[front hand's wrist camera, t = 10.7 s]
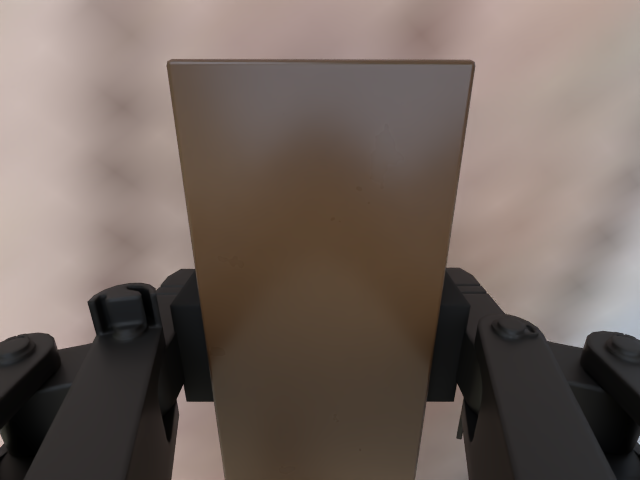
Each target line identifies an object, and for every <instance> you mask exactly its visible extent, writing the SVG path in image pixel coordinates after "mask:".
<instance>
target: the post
mask: <svg viewBox="0 0 640 480" xmlns="http://www.w3.org/2000/svg"><path fill="white" fill-rule="evenodd" d="M167 71H168V78H169V85H170V92H171V100H172V107H173V114H174V121H175V128H176V135H177V142H178V149H179V156H180V163H181V171H182V178H183V185H184V192H185V199H186V206H187V213H188V220H189V227H190V235H191V242H192V249H193V256H194V263H195V270H196V277H197V284H198V291H199V299H200V306H201V313H202V320H203V327H204V334H205V341H206V348H207V355H208V363H209V370H210V377H211V384H212V391H213V398H214V405H215V412H216V419H217V427H218V434H219V441H220V448H221V455H222V462H223V469H224V476H225V480H415V476H416V469H417V462H418V456H419V449H420V442H421V435H422V428H423V421H424V414H425V408H426V401H427V394H428V387H429V380H430V373H431V366H432V359H433V353H434V346H435V339H436V332H437V325H438V318H439V311H440V305H441V298H442V291H443V284H444V277H445V270H446V263H447V256H448V250H449V243H450V236H451V229H452V222H453V215H454V208H455V202H456V195H457V188H458V181H459V174H460V167H461V160H462V153H463V147H464V140H465V133H466V126H467V119H468V112H469V105H470V99H471V92H472V85H473V78H474V71H475V62H474V61H472V60H304V59H171V60H169V61H168V62H167Z"/></svg>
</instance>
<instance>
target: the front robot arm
mask: <svg viewBox="0 0 640 480" xmlns="http://www.w3.org/2000/svg"><path fill="white" fill-rule="evenodd" d="M88 306H89V309H90V313H91V317H92V320H93V324H94V328H95V331H96V337H95V339H94V341H93V343H90V344H86V345H81V346H76V347H70V348H65V349H60V350H58V349H57V346H56V343H55V340H54V338H53V337H52V336H50V335H49V334H45V333H31V334H22V335H18V336H14V337H10V338H8V339H6V340H5V341H2V342H0V435H1V437H2V439H3V441H4V444H3V445H2V446H1V447H0V480H171V477H172V469H173V461H174V453H175V444H176V436H177V428H178V420H179V411H178V405H177V400H176V399H177V397H178V395H179V393H180V391H181V388H182V386H183V384H184V389H185V395H186V400H187V402H214V398H213V391H212V384H211V377H210V370H209V363H208V355H207V348H206V341H205V334H204V327H203V320H202V313H201V306H200V299H199V291H198V284H197V277H196V270H195V269H180V270H179V271H177V272H175V273H173V274H172V275H170V276H168V277H167V278H166V280H165V281H164V282H163V283H162V284H161V287H159V288H158V289H157V290H156V289H155V288H154V287H153V286H151V285H149V284H144V283H128V284H122V285H117V286H114V287H111V288H108V289H105V290H103V291H101V292H99V293H98V294H96V295H94V296H93V297H92V298H91V299H90V300H89V301H88ZM457 384H458V386H459V388H460V390H461V392H462V394H463V396H464V400H463V405H462V410H461V415H460V421H459V426H458V431H457V439H462V434H463V435H464V443H465V452H466V460H467V468H468V476H469V480H640V445H639V444H638V443H637V440H638V438H639V436H640V340H638V339H636V338H635V337H633V336H630V335H626V334H625V335H624V334H623V333H618V332H607V331H599V332H593V333H591V334H590V335H588V336H587V338H586V342H585V345H584V348H579V347H573V346H568V345H563V344H558V343H553V342H549V341H546V339H545V337H544V335H543V333H542V332H541V331H540V330H539V329H538V328H537V327H536V326H534V325H533V324H531V323H530V322H528V321H526V320H524V319H521V318H519V317H516V316H512V315H507V314H505V313H504V312H503V311H502V310H501V309H500V307H499V306H498V305H497V304H496V303H495V301H494V300H493V299H492V298H491V297H490V296H489V294H487V293H486V291H485V290H484V288H483V287H482V286H480V284H479V282H478V281H477V280H476V279H475V278H474V276H473V275H471V274H469V273H468V272H466V271H464V270H462V269H461V268H446V270H445V277H444V284H443V291H442V298H441V305H440V311H439V318H438V325H437V332H436V339H435V346H434V353H433V359H432V366H431V373H430V380H429V387H428V394H427V401H426V402H454V397H455V391H456V386H457Z"/></svg>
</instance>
